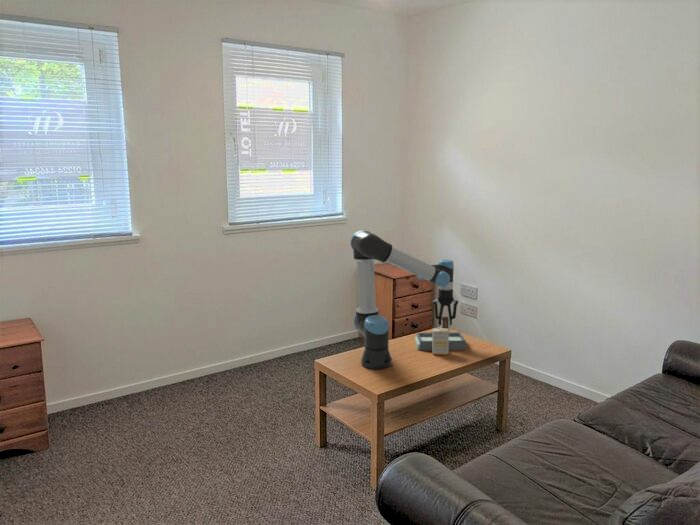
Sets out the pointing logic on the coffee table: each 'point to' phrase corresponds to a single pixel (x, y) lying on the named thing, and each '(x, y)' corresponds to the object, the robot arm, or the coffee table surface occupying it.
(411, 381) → the coffee table surface
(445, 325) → the peg
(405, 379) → the coffee table surface
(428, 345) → the box
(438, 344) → the supplement box
